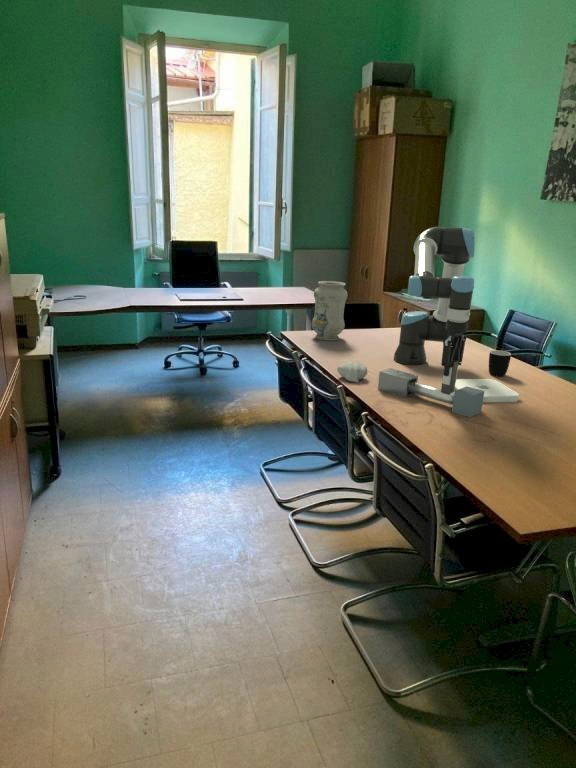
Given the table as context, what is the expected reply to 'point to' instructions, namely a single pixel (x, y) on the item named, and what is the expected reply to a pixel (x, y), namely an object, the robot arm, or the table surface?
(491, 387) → the computer
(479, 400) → the grey block
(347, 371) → the shell shaped sculpture
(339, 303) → the vase
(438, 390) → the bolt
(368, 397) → the table surface
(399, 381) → the sleeve
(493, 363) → the mug
